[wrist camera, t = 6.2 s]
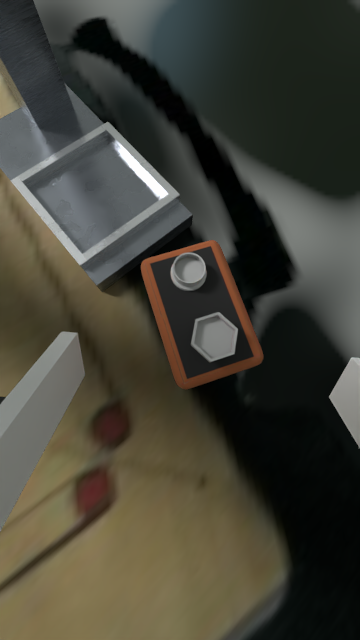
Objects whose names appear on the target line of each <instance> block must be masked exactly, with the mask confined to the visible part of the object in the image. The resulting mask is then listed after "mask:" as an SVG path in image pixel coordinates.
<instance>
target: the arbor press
mask: <svg viewBox="0 0 360 640" xmlns="http://www.w3.org/2000/svg"><path fill="white" fill-rule="evenodd" d="M0 72H1V73H2V75H3V77H4V79H5V80H6V82H7V84H8V86H9V87H10V89H11V91H12V93H13V94H14V96H15V98H16V100H17V101H18V103H19V105H20V107H21V108H19V109H17V110H15V111H13V112H12V113H10V114H8V115H6V116H4V117H3V118H1V119H0V168H1V169H2V171H3V172H4V173H5V174H6V175H7V177H8V178H9V179H10V180H11V182H12V183H13V184H14V185H15V187H16V188H17V189H18V190H19V192H20V193H21V194H22V195H23V196H24V198H25V199H26V200H27V201H28V203H29V204H30V205H31V206H32V207H33V209H34V210H35V211H36V212H37V213H38V215H39V216H40V217H41V218H42V220H43V221H44V222H45V223H46V224H47V226H48V227H49V228H50V229H51V231H52V232H53V233H54V234H55V235H56V237H57V238H58V239H59V240H60V242H61V243H62V244H63V245H64V246H65V248H66V249H67V250H68V251H69V253H70V254H71V255H72V256H73V257H74V259H75V260H76V261H77V262H78V264H79V265H80V266H81V267H82V268H83V269H84V271H85V272H86V273H87V274H88V276H89V277H90V278H91V279H92V280H93V282H94V283H95V284H96V285H97V287H98V288H99V289H100V290H101V291H102V292H103V291H104V290H105V289H107V288H108V287H109V286H111V285H112V284H113V283H115V282H116V281H117V280H119V279H120V278H121V277H123V276H124V275H125V274H127V273H128V272H129V271H131V270H132V269H133V268H135V267H136V266H137V265H139V264H140V263H141V262H143V260H145V259H147V258H148V257H150V256H151V255H152V254H154V253H155V252H156V251H158V250H159V249H160V248H162V247H163V246H164V245H166V244H167V243H168V242H170V241H171V240H172V239H174V238H175V237H176V236H178V235H179V234H180V233H182V232H183V231H184V230H186V229H187V228H188V227H190V226H191V225H192V217H193V215H192V213H191V212H190V211H189V210H188V209H187V208H186V207H185V206H184V205H183V204H182V203H181V202H180V195H179V193H178V192H177V191H176V190H175V189H174V188H173V187H172V186H171V185H170V184H169V183H168V182H167V181H166V180H165V179H164V178H163V177H162V176H161V175H160V174H159V173H158V172H157V171H156V170H155V169H154V168H153V167H152V166H151V165H150V164H149V163H148V162H147V161H146V160H145V159H144V158H143V157H142V156H141V155H140V154H139V153H138V152H137V151H136V150H135V149H134V148H133V147H132V146H131V145H130V144H129V142H128V141H127V140H126V139H125V138H124V137H123V136H122V135H121V134H120V133H119V132H118V131H117V130H116V129H115V128H114V127H113V126H112V125H111V124H110V123H109V122H106V123H105V124H104V123H103V122H102V121H101V120H100V119H99V118H98V117H97V116H96V115H95V114H94V113H93V112H92V111H91V110H90V109H89V108H88V107H87V106H86V105H85V104H84V103H83V102H82V101H81V100H80V99H79V98H78V97H77V96H76V95H75V94H74V93H73V91H72V90H71V89H70V88H69V87H68V86H67V85H66V84H65V83H64V81H63V78H62V75H61V73H60V70H59V68H58V65H57V62H56V60H55V57H54V54H53V52H52V49H51V46H50V44H49V41H48V38H47V36H46V33H45V30H44V28H43V25H42V23H41V20H40V17H39V15H38V12H37V9H36V7H35V4H34V1H33V0H0Z"/></svg>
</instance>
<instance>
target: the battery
mask: <svg viewBox="0 0 360 640" xmlns="http://www.w3.org/2000/svg"><path fill="white" fill-rule="evenodd" d="M141 272H142V276H143V280H144V283H145V286H146V289H147V293H148V296H149V299H150V302H151V305H152V309H153V312H154V315H155V318H156V322H157V325H158V328H159V331H160V334H161V338H162V341H163V344H164V347H165V350H166V354H167V357H168V360H169V363H170V367H171V370H172V373H173V376H174V379H175V382H176V384H177V385H178V386H179V387H181V388H182V389H190V388H193V387H196V386H199V385H202V384H205V383H208V382H211V381H214V380H216V379H219V378H222V377H225V376H228V375H231V374H234V373H237V372H240V371H243V370H246V369H249V368H251V367H254V366H257V365H259V364H260V363H261V362H262V360H263V352H262V349H261V346H260V344H259V341H258V339H257V336H256V334H255V331H254V329H253V326H252V324H251V321H250V319H249V316H248V314H247V311H246V309H245V306H244V304H243V301H242V299H241V296H240V294H239V291H238V289H237V286H236V284H235V281H234V279H233V276H232V274H231V271H230V269H229V266H228V264H227V261H226V259H225V256H224V254H223V252H222V249H221V247H220V245H219V244H218V243H217V242H216V241H214V240H211V241H206V242H203V243H199V244H196V245H192V246H189V247H185V248H182V249H178V250H175V251H171V252H168V253H164V254H161V255H157V256H154V257H150V258H147V259H145V260H143V262H142V264H141Z"/></svg>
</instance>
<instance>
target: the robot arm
mask: <svg viewBox="0 0 360 640" xmlns="http://www.w3.org/2000/svg"><path fill="white" fill-rule="evenodd" d="M84 376H85V371H84V365H83V360H82V354H81V349H80V343H79V338H78V333H73V332H61V333H60V334H59V335H58V336H57V338H56V339H55V340H54V341H53V342H52V344H51V345H50V346H49V347H48V348H47V349H46V351H45V352H44V353H43V354H42V355H41V357H40V358H39V359H38V360H37V361H36V363H35V364H34V365H33V366H32V367H31V368H30V370H29V371H28V372H27V373H26V374H25V376H24V377H23V378H22V379H21V380H20V381H19V383H18V384H17V385H16V386H15V387H14V389H13V390H12V391H11V392H10V393H9V395H8V396H7V397H0V531H1V529H2V527H3V526H4V524H5V522H6V520H7V518H8V516H9V514H10V513H11V511H12V509H13V507H14V505H15V503H16V502H17V500H18V498H19V496H20V494H21V492H22V491H23V489H24V487H25V485H26V483H27V481H28V480H29V478H30V476H31V474H32V472H33V470H34V468H35V467H36V465H37V463H38V461H39V459H40V457H41V456H42V454H43V452H44V450H45V448H46V446H47V445H48V443H49V441H50V439H51V437H52V435H53V433H54V432H55V430H56V428H57V426H58V424H59V422H60V421H61V419H62V417H63V415H64V413H65V411H66V410H67V408H68V406H69V404H70V402H71V400H72V398H73V397H74V395H75V393H76V391H77V389H78V387H79V386H80V384H81V382H82V380H83V378H84ZM329 398H330V400H331V402H332V403H333V405H334V406H335V408H336V409H337V411H338V413H339V415H340V416H341V418H342V420H343V421H344V423H345V425H346V426H347V428H348V430H349V431H350V433H351V434H352V436H353V438H354V440H355V441H356V443H357V444H358V446H359V448H360V358H353V357H352V358H351V359H350V361H349V363H348V365H347V366H346V368H345V370H344V372H343V373H342V375H341V377H340V379H339V380H338V382H337V384H336V385H335V387H334V389H333V391H332V392H331V394H330V396H329Z"/></svg>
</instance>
